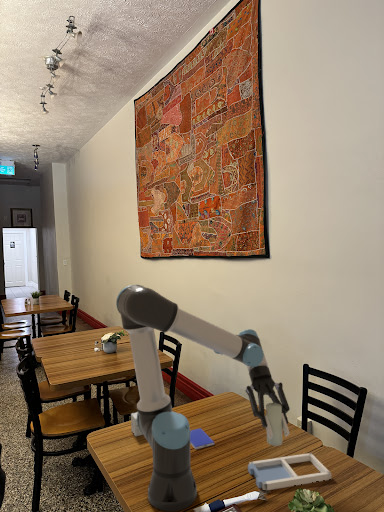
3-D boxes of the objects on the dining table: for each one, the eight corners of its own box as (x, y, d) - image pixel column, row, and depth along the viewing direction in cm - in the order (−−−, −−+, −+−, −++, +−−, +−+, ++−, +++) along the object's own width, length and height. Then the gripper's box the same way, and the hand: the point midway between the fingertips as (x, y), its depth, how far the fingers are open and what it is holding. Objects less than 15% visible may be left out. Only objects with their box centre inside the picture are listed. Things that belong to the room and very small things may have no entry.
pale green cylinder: (276, 447, 117) (275, 410, 117) (263, 441, 121) (263, 406, 121) (285, 441, 120) (284, 405, 120) (272, 436, 124) (272, 401, 124)
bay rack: (260, 491, 113) (260, 485, 113) (246, 468, 125) (246, 462, 125) (331, 479, 118) (331, 473, 118) (311, 458, 130) (311, 452, 130)
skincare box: (135, 437, 148) (134, 419, 148) (131, 430, 153) (130, 413, 153) (149, 433, 151) (149, 415, 150) (144, 427, 156) (144, 410, 156)
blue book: (183, 432, 149) (195, 446, 138) (201, 427, 152) (214, 441, 141) (183, 436, 149) (195, 450, 138) (201, 431, 152) (214, 445, 141)
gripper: (278, 371, 137) (300, 436, 121) (232, 376, 134) (250, 443, 118) (284, 362, 132) (308, 428, 116) (237, 366, 128) (256, 435, 112)
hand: (279, 436), depth 117 cm, fingers closed on pale green cylinder, 5 cm apart
